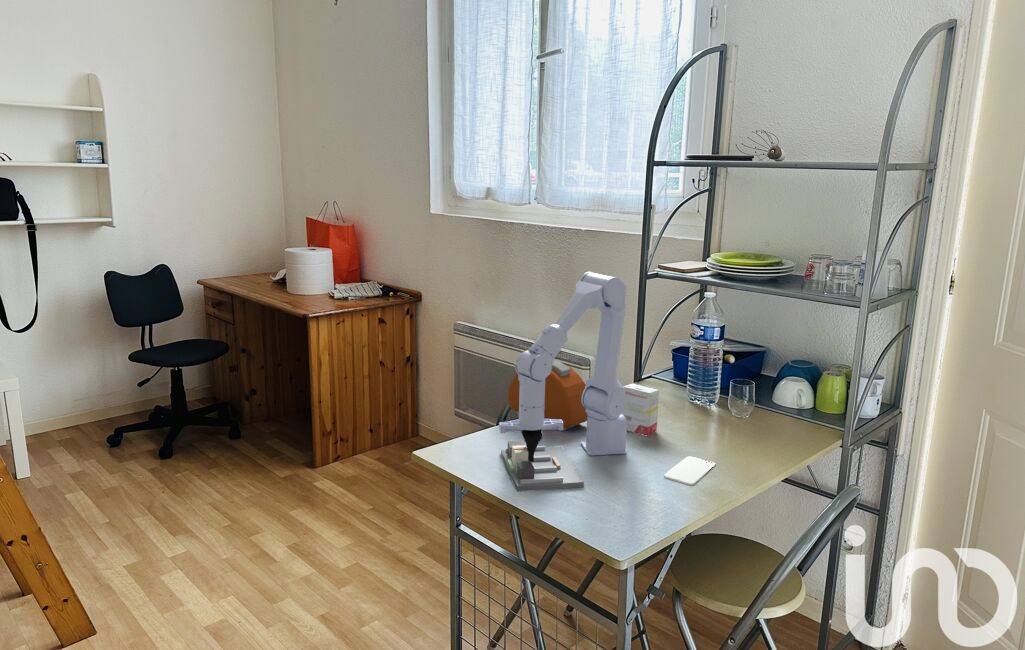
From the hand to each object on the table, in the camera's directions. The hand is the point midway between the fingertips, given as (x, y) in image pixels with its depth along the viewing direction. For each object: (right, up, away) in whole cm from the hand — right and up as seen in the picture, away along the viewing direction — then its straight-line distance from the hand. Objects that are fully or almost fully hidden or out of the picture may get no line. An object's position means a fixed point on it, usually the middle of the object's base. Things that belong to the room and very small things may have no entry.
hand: (530, 460), depth 174 cm
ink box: (+29, +3, +27) cm, 40 cm away
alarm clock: (+6, +5, +34) cm, 34 cm away
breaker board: (+3, -2, +1) cm, 4 cm away
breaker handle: (-2, -1, 0) cm, 3 cm away
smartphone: (+37, -3, +3) cm, 38 cm away
